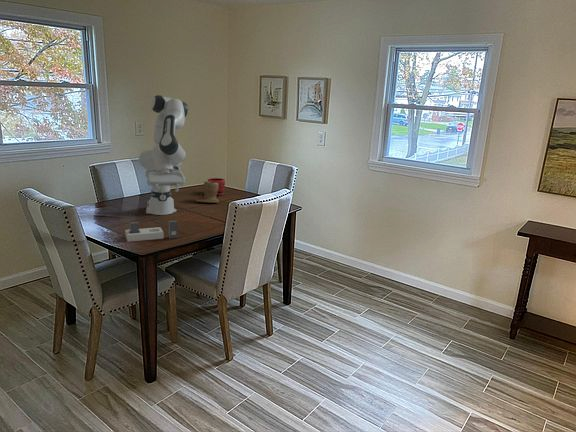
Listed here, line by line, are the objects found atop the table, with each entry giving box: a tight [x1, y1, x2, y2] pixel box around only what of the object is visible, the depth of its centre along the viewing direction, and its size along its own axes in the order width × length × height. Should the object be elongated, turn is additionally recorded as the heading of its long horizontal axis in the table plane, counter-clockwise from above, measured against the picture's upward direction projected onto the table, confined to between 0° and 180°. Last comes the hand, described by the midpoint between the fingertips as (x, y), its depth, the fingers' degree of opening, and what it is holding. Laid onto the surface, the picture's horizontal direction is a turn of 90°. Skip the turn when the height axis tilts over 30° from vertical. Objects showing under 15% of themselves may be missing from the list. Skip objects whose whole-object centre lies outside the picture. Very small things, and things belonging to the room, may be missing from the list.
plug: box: [168, 220, 179, 240], centre depth 230 cm, size 3×4×9 cm
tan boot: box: [196, 180, 220, 204], centre depth 305 cm, size 15×12×15 cm
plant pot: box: [207, 177, 226, 197], centre depth 329 cm, size 13×13×12 cm
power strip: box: [125, 221, 165, 243], centre depth 231 cm, size 19×18×8 cm
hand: (168, 191), depth 233 cm, fingers open, 8 cm apart
